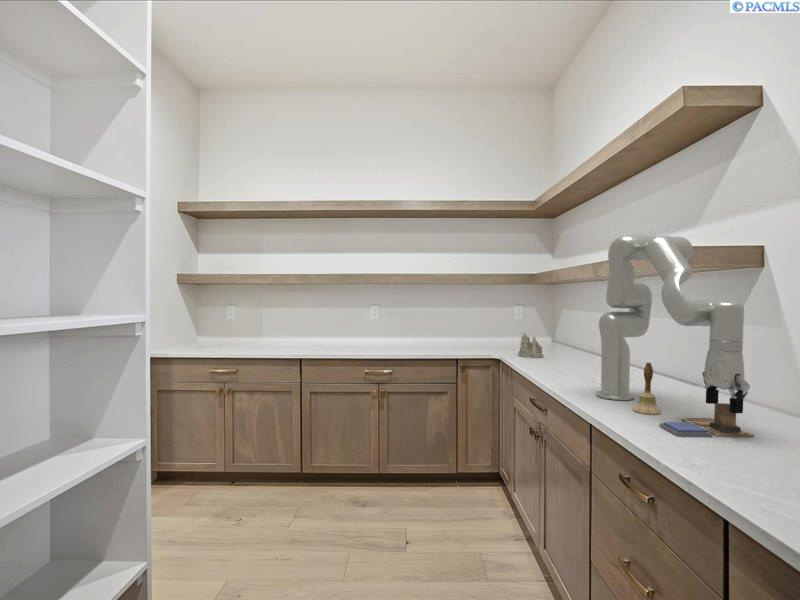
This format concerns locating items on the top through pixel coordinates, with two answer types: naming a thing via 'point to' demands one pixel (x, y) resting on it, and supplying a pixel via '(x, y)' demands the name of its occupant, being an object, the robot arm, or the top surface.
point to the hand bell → (647, 395)
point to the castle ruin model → (530, 348)
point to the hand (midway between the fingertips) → (723, 408)
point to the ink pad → (685, 429)
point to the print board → (706, 425)
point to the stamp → (724, 419)
